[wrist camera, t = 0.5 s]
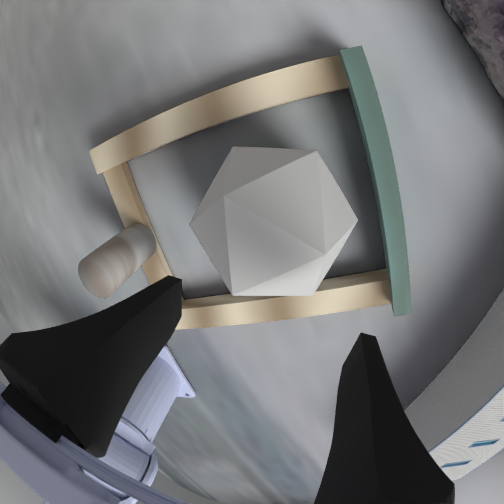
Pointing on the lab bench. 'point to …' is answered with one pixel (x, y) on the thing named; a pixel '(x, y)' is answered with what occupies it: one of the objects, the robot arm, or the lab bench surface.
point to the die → (273, 221)
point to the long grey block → (466, 401)
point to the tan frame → (225, 109)
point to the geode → (482, 33)
